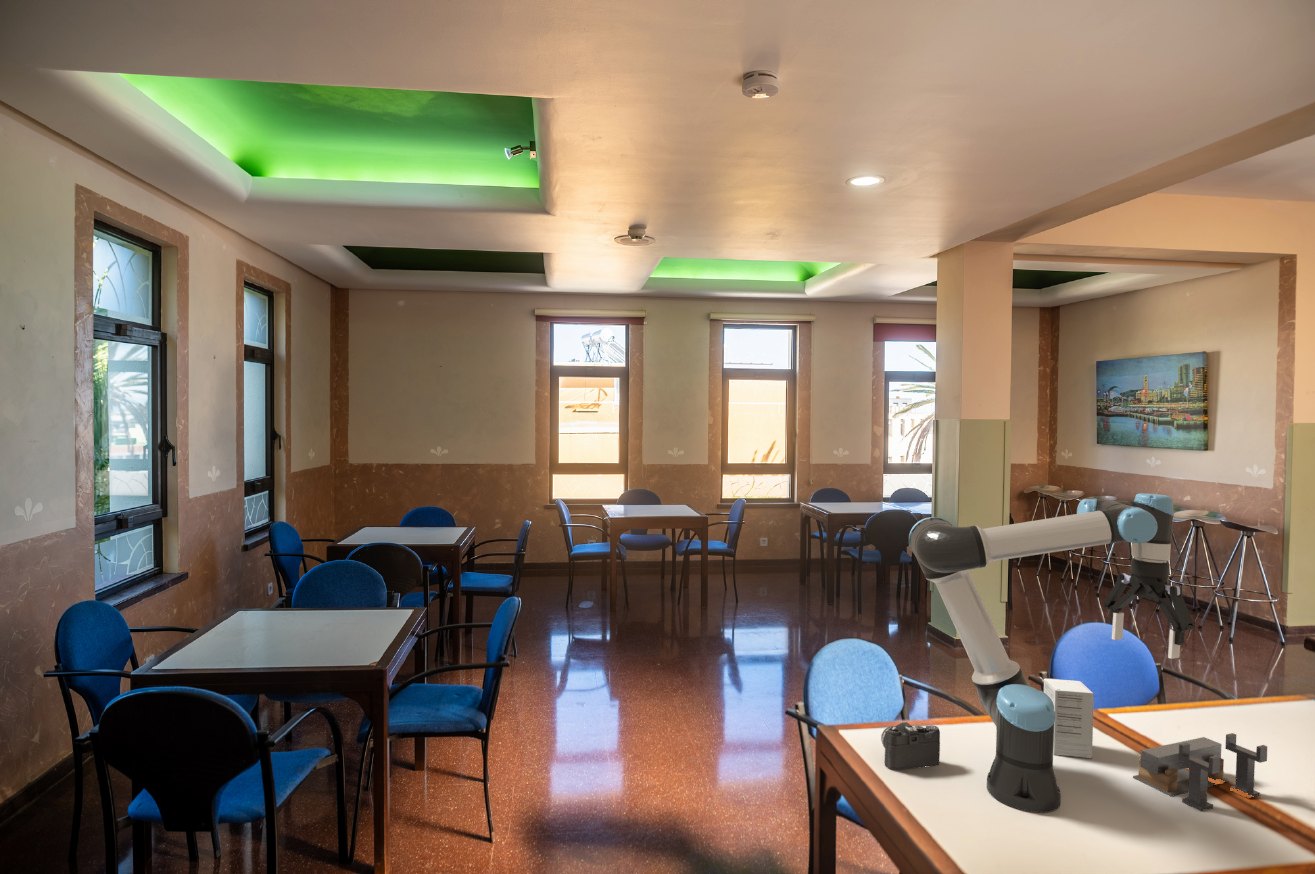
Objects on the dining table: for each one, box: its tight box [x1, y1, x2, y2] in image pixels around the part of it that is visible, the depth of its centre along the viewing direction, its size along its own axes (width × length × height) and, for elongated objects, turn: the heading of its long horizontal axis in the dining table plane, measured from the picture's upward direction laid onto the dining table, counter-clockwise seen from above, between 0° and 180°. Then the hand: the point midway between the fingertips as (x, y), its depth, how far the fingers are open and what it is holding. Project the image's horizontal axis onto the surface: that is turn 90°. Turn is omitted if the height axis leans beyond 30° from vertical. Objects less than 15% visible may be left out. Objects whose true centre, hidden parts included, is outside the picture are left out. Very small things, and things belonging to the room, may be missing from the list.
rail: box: [1140, 736, 1222, 775], centre depth 172 cm, size 22×4×4 cm, turn 110°
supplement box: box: [1043, 678, 1095, 759], centre depth 187 cm, size 10×9×17 cm
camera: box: [880, 721, 941, 771], centre depth 180 cm, size 14×11×10 cm
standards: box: [1179, 732, 1268, 812], centre depth 163 cm, size 20×7×12 cm, turn 110°
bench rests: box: [1132, 757, 1230, 797], centre depth 172 cm, size 20×9×5 cm, turn 110°
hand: (1144, 648), depth 170 cm, fingers open, 13 cm apart
